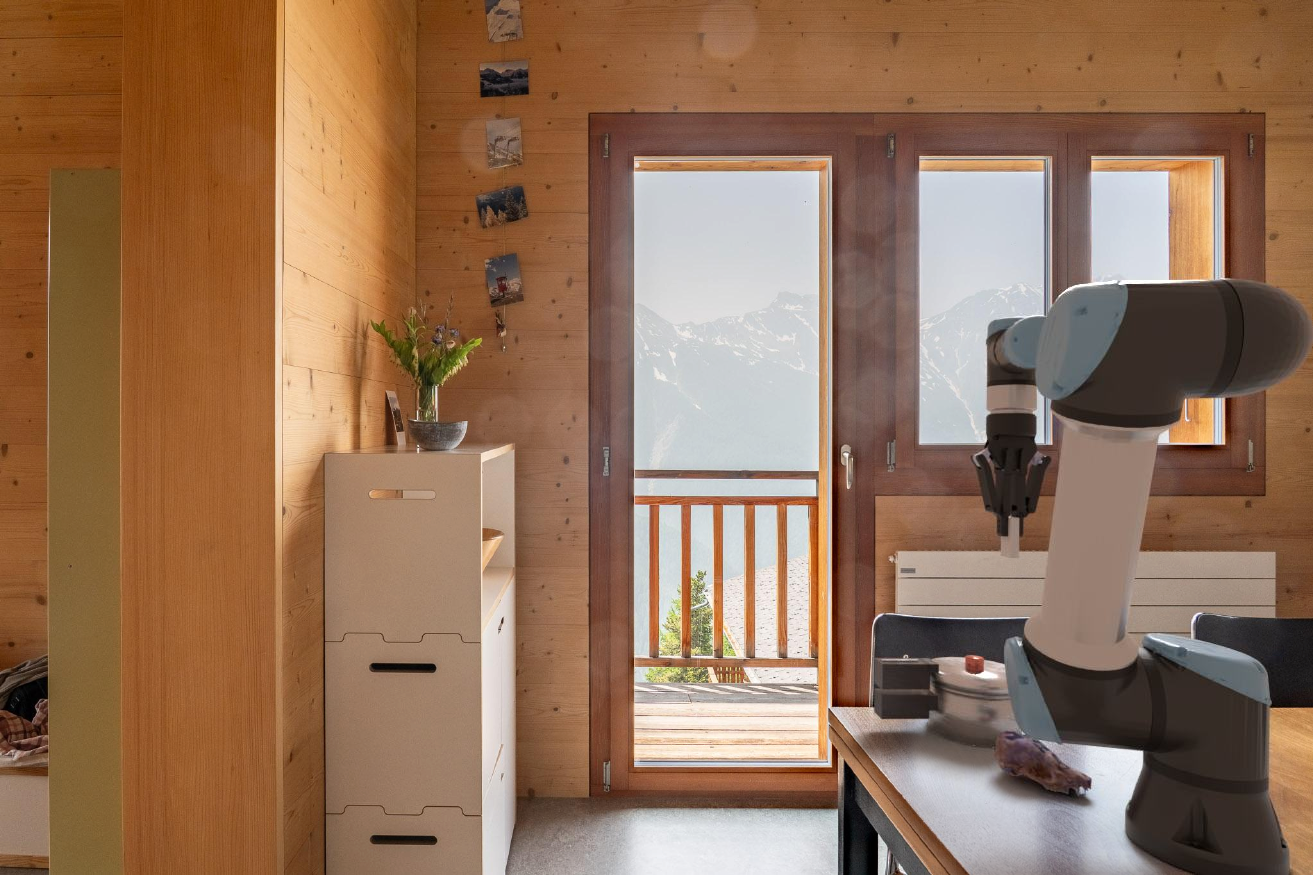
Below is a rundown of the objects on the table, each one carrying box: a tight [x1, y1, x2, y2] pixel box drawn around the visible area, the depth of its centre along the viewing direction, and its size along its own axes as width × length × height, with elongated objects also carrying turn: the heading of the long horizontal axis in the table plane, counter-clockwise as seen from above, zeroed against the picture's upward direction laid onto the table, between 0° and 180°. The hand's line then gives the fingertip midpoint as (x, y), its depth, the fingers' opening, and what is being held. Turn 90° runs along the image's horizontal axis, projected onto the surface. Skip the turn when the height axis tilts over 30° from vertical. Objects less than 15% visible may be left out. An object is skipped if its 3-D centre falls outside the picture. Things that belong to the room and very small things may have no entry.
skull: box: [994, 730, 1093, 797], centre depth 101 cm, size 12×8×6 cm, turn 36°
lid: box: [873, 654, 1009, 694], centre depth 120 cm, size 15×24×5 cm, turn 94°
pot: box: [873, 680, 1023, 748], centre depth 120 cm, size 14×23×8 cm, turn 94°
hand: (1009, 556), depth 121 cm, fingers closed
